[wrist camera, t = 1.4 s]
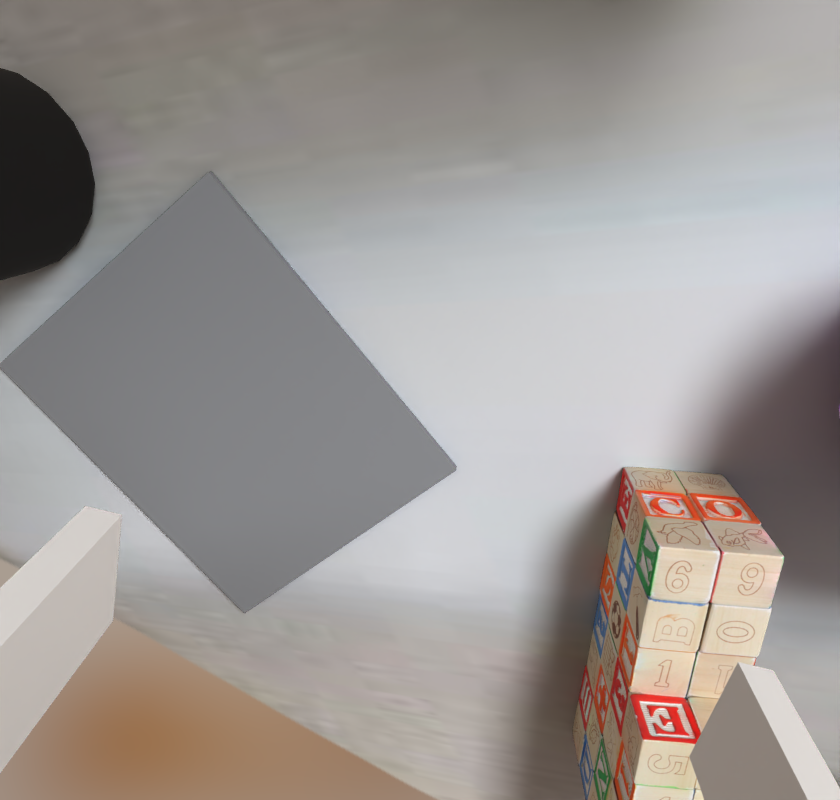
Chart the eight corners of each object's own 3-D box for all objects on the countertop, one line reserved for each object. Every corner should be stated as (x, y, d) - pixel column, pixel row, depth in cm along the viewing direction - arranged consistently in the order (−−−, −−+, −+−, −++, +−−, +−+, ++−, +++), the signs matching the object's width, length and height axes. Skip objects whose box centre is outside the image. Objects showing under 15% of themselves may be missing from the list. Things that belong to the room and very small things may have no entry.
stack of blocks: (619, 462, 42) (677, 581, 31) (723, 471, 42) (821, 593, 30) (571, 732, 50) (603, 910, 38) (659, 741, 49) (718, 922, 38)
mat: (3, 362, 42) (-3, 365, 42) (211, 171, 38) (208, 171, 37) (247, 607, 47) (244, 613, 47) (456, 465, 43) (456, 470, 42)
